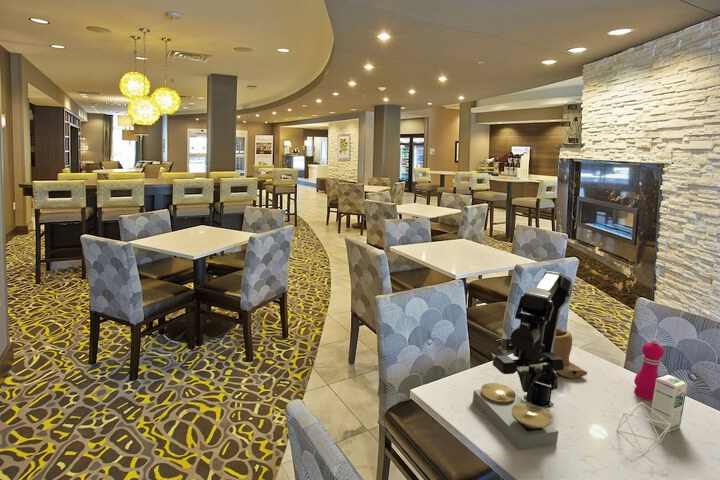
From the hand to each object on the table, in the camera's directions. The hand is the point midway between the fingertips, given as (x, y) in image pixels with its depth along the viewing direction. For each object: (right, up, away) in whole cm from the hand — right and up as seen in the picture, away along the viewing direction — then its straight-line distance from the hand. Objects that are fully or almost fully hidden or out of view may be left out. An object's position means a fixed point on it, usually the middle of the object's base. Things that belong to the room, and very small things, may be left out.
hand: (524, 391), depth 127 cm
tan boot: (+27, -6, +40) cm, 49 cm away
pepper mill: (+49, -10, +25) cm, 55 cm away
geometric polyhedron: (+32, -14, 0) cm, 35 cm away
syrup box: (+44, -13, +8) cm, 47 cm away
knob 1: (-3, -9, +14) cm, 17 cm away
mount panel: (-1, -11, +7) cm, 13 cm away
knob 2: (+1, -10, -1) cm, 10 cm away
